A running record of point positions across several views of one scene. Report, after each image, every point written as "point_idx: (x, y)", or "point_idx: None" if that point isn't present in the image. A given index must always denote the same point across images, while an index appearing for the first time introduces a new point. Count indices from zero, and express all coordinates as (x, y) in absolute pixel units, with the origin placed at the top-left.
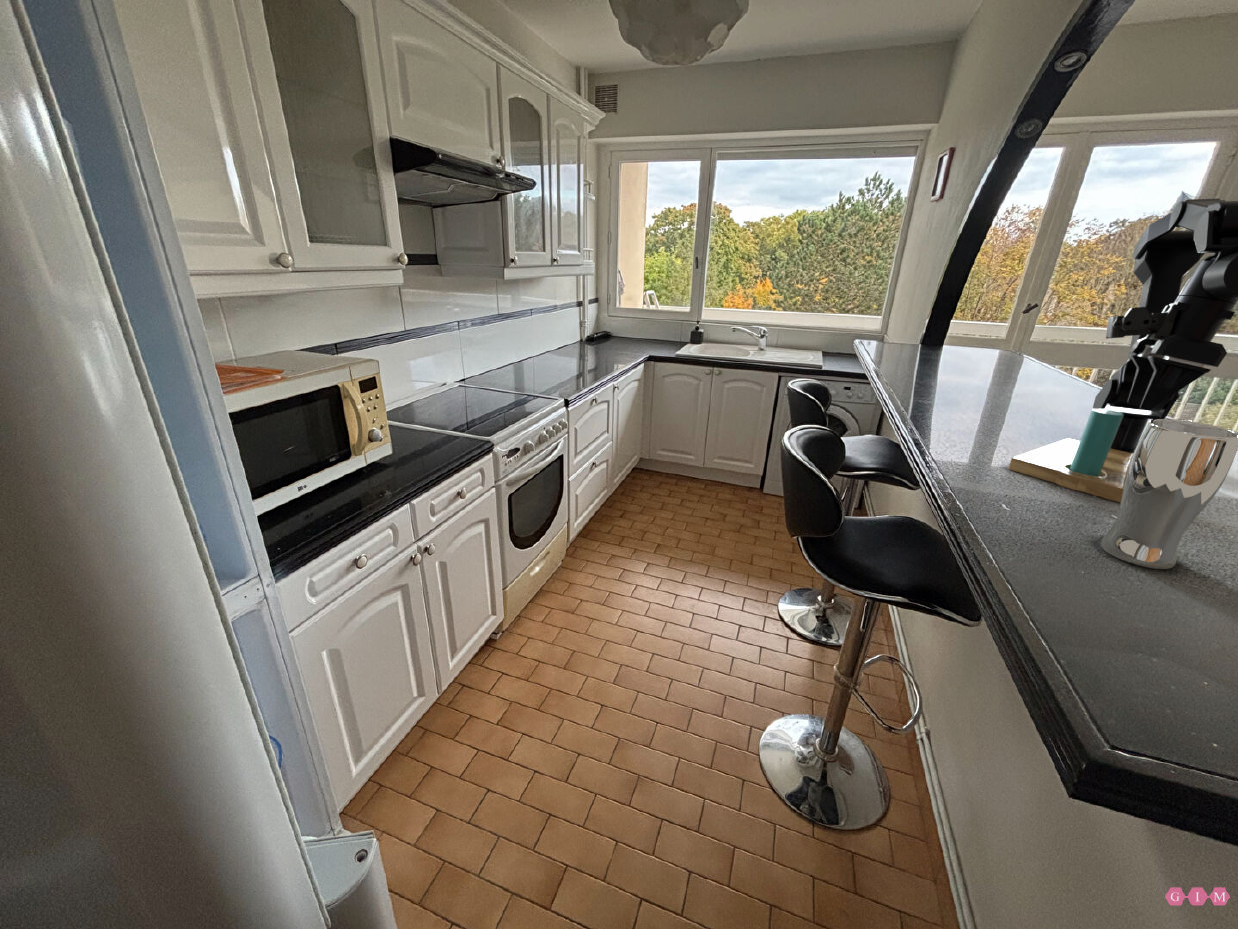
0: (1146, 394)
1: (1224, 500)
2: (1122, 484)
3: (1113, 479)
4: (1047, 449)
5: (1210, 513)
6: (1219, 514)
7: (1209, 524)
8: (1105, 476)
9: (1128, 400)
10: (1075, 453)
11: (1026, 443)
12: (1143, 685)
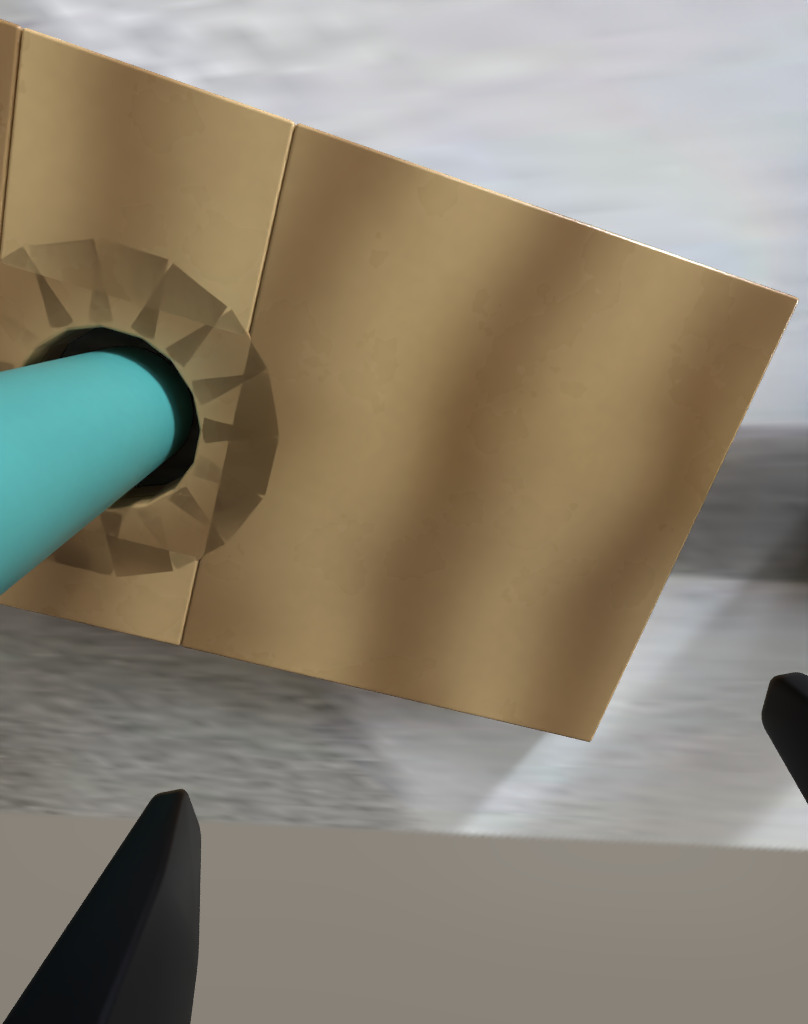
0: (65, 935)
1: (367, 821)
2: None
3: None
4: (397, 207)
5: (155, 783)
6: None
7: (17, 776)
8: None
9: (787, 685)
10: (47, 362)
11: (752, 80)
12: None
